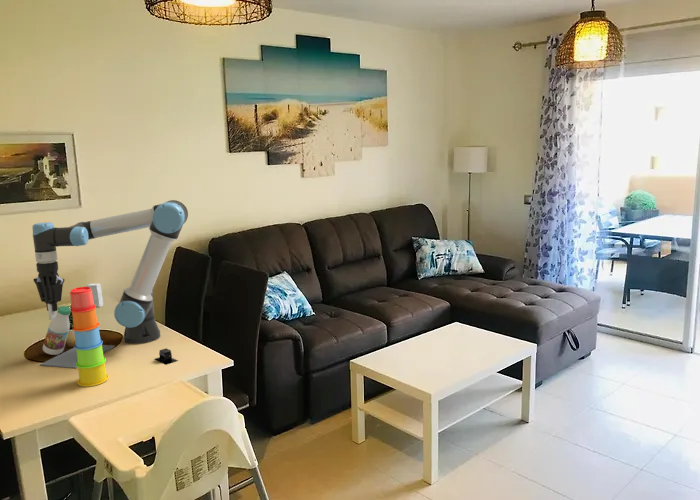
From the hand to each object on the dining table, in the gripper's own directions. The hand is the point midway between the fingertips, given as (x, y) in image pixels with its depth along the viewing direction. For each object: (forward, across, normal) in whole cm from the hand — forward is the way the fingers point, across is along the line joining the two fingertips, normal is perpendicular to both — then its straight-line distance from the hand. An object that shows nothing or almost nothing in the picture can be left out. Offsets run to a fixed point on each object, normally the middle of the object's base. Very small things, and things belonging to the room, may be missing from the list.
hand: (53, 318), depth 227 cm
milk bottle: (+14, -2, 0) cm, 14 cm away
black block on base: (+16, +48, +3) cm, 51 cm away
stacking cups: (+15, +33, -21) cm, 42 cm away
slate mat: (+15, +10, 0) cm, 18 cm away
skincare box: (+15, -33, +66) cm, 75 cm away
